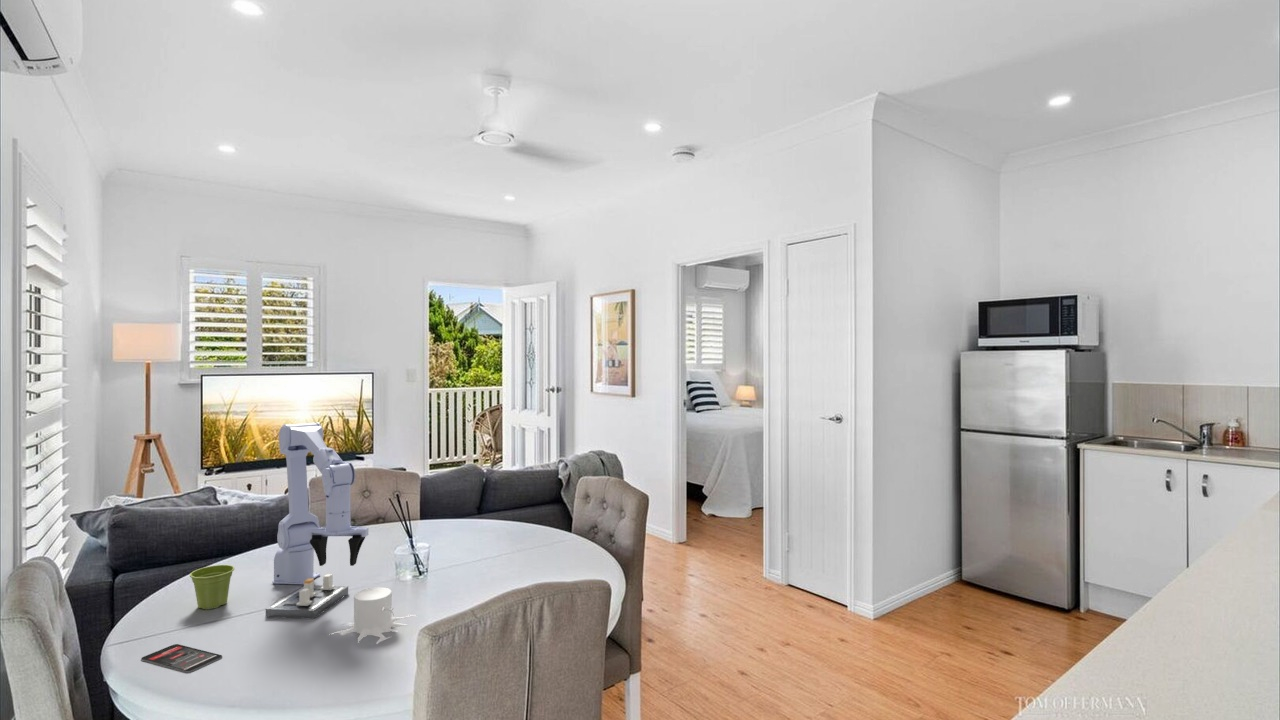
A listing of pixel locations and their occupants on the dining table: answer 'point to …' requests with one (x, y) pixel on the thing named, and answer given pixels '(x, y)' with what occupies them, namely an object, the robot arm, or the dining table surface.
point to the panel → (319, 604)
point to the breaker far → (327, 582)
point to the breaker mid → (310, 586)
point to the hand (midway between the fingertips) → (338, 564)
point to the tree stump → (373, 614)
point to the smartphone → (181, 658)
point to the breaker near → (304, 597)
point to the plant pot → (212, 585)
